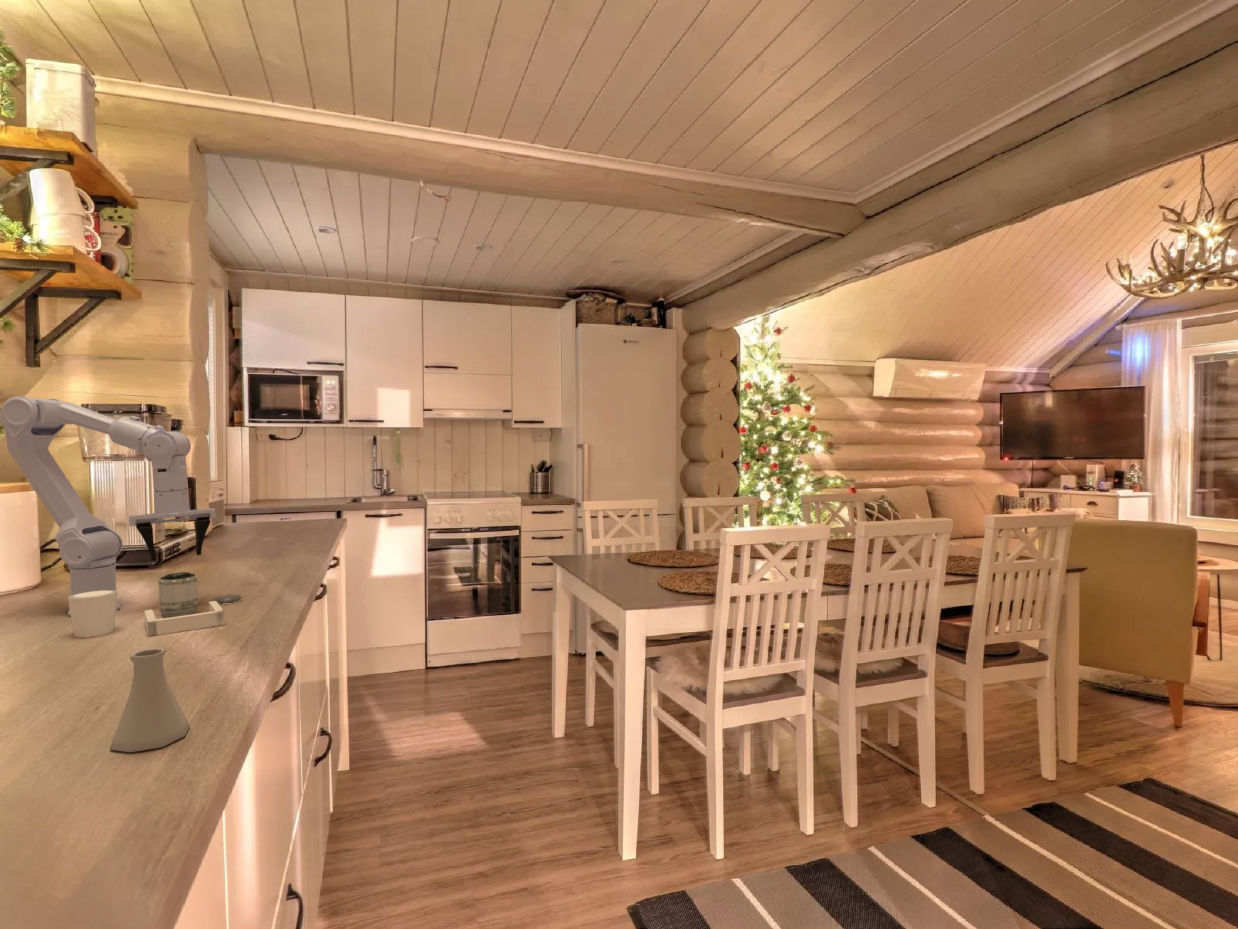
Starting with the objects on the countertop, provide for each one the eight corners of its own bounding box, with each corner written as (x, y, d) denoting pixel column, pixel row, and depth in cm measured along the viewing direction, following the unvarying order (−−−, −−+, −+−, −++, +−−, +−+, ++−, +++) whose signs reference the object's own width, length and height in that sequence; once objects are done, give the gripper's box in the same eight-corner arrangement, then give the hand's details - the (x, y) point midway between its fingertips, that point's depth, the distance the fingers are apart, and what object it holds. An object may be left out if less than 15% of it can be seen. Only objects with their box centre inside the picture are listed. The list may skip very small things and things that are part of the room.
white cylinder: (91, 639, 113) (89, 598, 113) (58, 637, 115) (57, 597, 114) (128, 628, 120) (127, 589, 120) (97, 626, 121) (96, 588, 121)
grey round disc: (212, 602, 140) (212, 597, 140) (239, 599, 143) (239, 593, 143) (215, 607, 136) (215, 601, 136) (243, 603, 139) (243, 597, 139)
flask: (137, 727, 78) (134, 643, 78) (202, 724, 79) (199, 641, 78) (94, 756, 71) (91, 664, 71) (165, 753, 72) (162, 661, 71)
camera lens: (205, 611, 131) (204, 572, 131) (172, 619, 125) (171, 578, 125) (185, 608, 134) (184, 570, 134) (152, 616, 128) (151, 575, 128)
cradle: (144, 624, 123) (144, 610, 123) (216, 613, 130) (216, 600, 130) (148, 636, 115) (147, 622, 115) (224, 624, 122) (224, 611, 122)
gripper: (127, 494, 127) (133, 565, 127) (215, 488, 136) (220, 554, 136) (126, 493, 132) (131, 560, 133) (211, 487, 141) (215, 550, 142)
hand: (176, 557), depth 135 cm, fingers open, 7 cm apart
